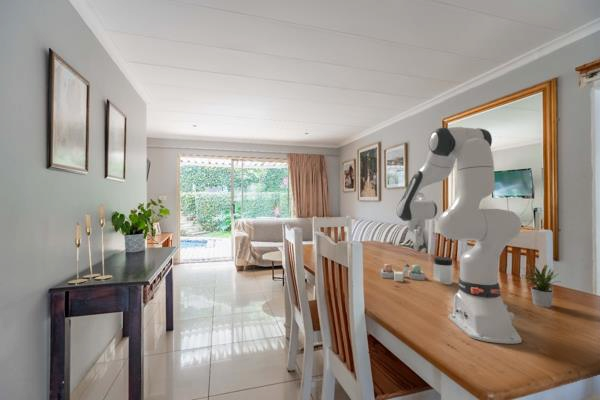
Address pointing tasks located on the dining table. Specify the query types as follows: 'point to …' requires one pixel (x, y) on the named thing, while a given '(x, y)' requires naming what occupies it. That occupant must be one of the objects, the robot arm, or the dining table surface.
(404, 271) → the ball-tipped lever
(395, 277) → the slider knob
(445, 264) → the jar
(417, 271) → the green button
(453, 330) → the dining table surface
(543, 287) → the house plant
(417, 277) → the panel
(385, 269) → the terracotta button
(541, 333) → the dining table surface
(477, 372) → the dining table surface
